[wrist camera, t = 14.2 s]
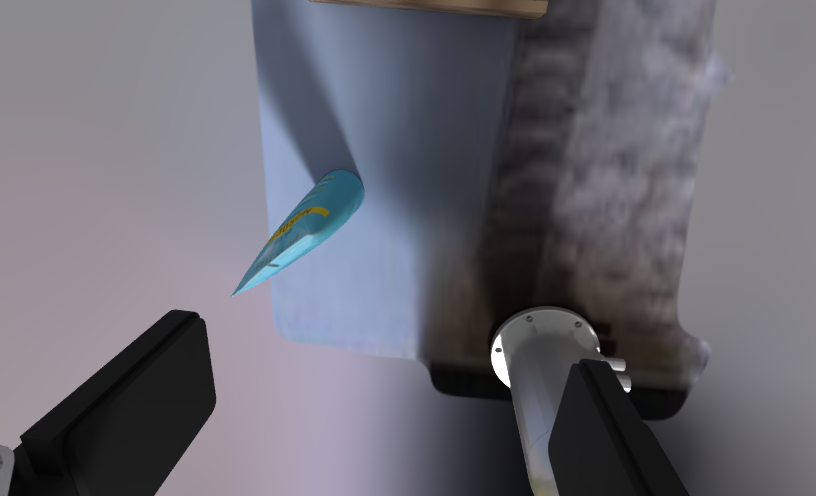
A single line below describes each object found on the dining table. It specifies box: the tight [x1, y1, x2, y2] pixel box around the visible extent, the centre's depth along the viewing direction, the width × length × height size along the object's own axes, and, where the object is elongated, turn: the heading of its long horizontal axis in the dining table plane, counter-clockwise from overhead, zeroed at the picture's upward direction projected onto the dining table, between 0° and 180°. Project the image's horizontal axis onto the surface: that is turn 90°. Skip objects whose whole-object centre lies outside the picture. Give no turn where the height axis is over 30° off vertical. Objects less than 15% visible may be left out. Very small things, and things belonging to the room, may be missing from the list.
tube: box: [231, 170, 364, 298], centre depth 34 cm, size 7×5×19 cm, turn 134°
